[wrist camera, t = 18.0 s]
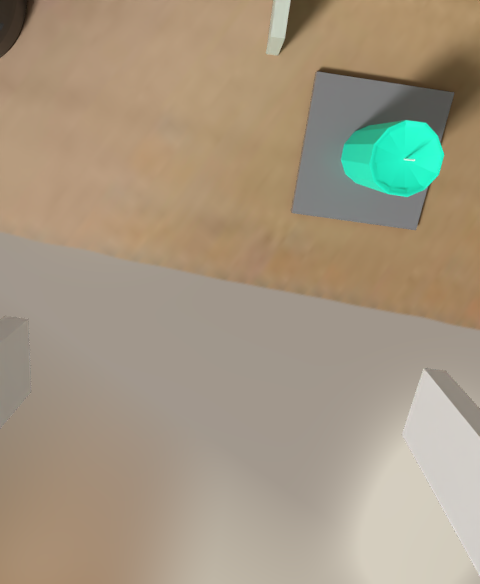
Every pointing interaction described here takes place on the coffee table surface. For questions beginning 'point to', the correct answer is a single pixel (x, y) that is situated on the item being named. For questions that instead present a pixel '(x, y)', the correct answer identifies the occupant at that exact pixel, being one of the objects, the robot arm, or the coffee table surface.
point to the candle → (393, 157)
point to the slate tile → (337, 130)
